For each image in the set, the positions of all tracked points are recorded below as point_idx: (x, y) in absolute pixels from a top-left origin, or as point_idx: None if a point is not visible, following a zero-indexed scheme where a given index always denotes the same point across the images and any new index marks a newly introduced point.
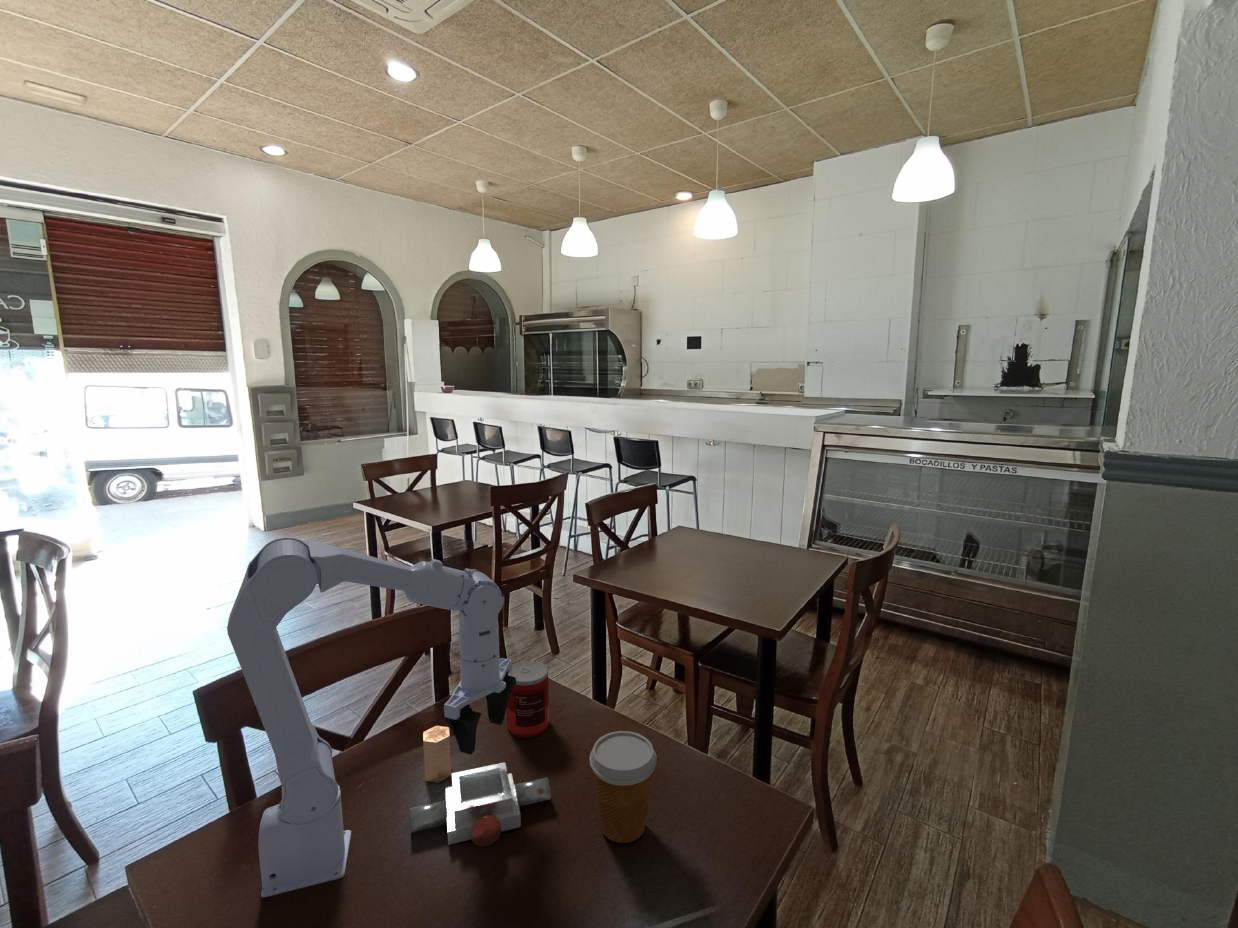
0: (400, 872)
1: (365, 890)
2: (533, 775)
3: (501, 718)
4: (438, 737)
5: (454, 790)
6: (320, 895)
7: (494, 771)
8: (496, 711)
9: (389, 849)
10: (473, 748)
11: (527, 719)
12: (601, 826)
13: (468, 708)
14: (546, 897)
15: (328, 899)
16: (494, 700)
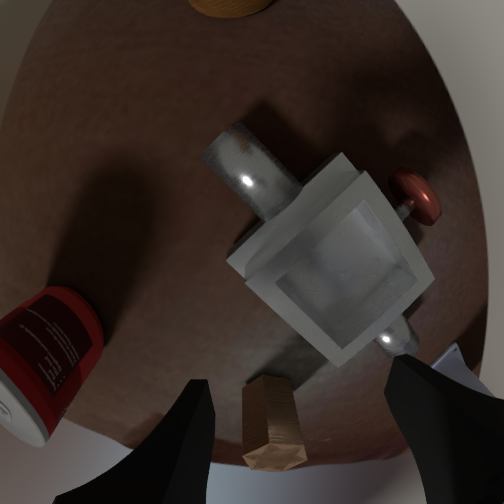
0: (447, 290)
1: (467, 305)
2: (171, 226)
3: (202, 398)
4: (285, 451)
5: (384, 324)
6: (470, 338)
7: (283, 289)
8: (202, 437)
9: (421, 333)
10: (414, 361)
11: (70, 328)
12: (261, 6)
13: (501, 490)
14: (411, 59)
15: (474, 327)
16: (195, 485)
